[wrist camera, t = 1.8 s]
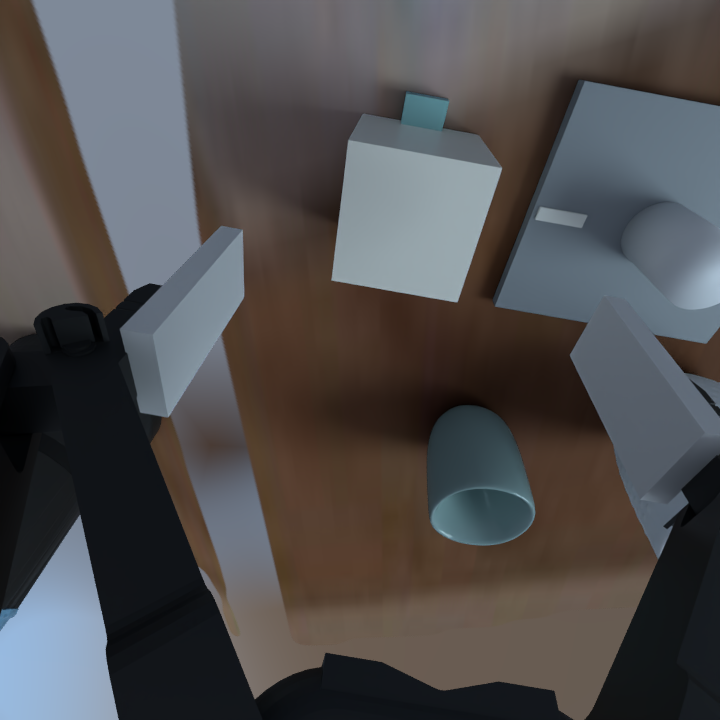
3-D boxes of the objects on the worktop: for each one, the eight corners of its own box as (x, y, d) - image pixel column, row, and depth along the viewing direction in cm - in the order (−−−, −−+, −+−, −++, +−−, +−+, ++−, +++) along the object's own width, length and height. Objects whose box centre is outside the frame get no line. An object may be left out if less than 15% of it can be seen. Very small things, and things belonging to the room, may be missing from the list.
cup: (526, 406, 38) (557, 504, 30) (484, 458, 43) (501, 554, 35) (446, 381, 37) (457, 475, 29) (412, 437, 42) (413, 531, 34)
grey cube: (344, 247, 30) (328, 303, 24) (366, 83, 24) (352, 101, 18) (440, 264, 31) (449, 324, 24) (486, 105, 24) (514, 131, 18)
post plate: (492, 299, 32) (510, 355, 26) (578, 79, 23) (632, 93, 18) (698, 336, 32) (759, 398, 27) (858, 132, 24) (996, 162, 18)
